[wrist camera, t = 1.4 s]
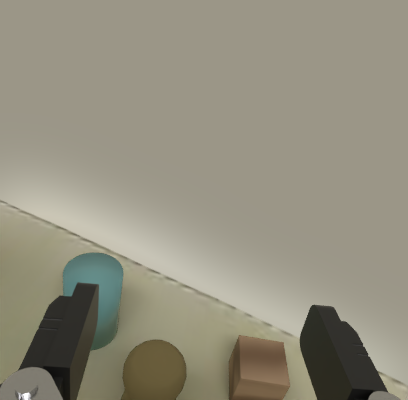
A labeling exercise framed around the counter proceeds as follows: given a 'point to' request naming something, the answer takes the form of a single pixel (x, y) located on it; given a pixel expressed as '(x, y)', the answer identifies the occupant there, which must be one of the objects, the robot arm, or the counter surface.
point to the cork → (154, 372)
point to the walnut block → (258, 370)
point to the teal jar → (108, 290)
